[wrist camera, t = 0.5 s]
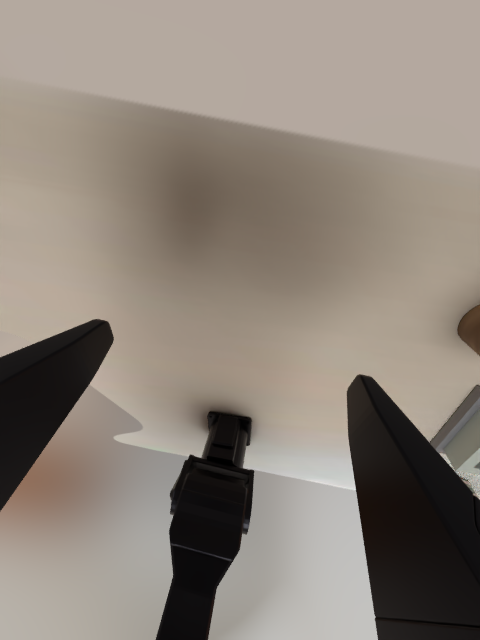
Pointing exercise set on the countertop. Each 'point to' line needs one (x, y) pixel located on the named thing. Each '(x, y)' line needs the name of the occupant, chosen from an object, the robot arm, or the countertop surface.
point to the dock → (462, 436)
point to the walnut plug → (471, 329)
